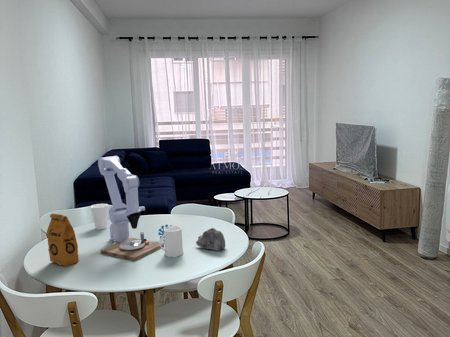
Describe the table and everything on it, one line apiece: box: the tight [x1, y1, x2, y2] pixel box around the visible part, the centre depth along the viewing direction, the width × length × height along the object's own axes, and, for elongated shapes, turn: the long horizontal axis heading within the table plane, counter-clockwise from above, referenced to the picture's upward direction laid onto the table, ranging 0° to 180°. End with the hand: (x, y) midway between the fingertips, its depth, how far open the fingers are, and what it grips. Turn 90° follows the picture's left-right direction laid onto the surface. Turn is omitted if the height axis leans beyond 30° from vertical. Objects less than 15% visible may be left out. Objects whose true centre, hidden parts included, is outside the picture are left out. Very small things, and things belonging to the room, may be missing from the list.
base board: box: [99, 236, 165, 262], centre depth 188 cm, size 22×20×4 cm
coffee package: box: [46, 213, 80, 267], centre depth 174 cm, size 10×12×22 cm
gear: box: [157, 224, 173, 242], centre depth 201 cm, size 11×6×10 cm
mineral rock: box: [195, 227, 226, 252], centre depth 186 cm, size 13×11×10 cm
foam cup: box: [90, 203, 109, 230], centre depth 225 cm, size 10×9×13 cm
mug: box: [159, 225, 184, 258], centre depth 179 cm, size 12×8×12 cm
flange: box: [119, 231, 150, 251], centre depth 188 cm, size 14×12×6 cm
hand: (134, 228), depth 191 cm, fingers closed
